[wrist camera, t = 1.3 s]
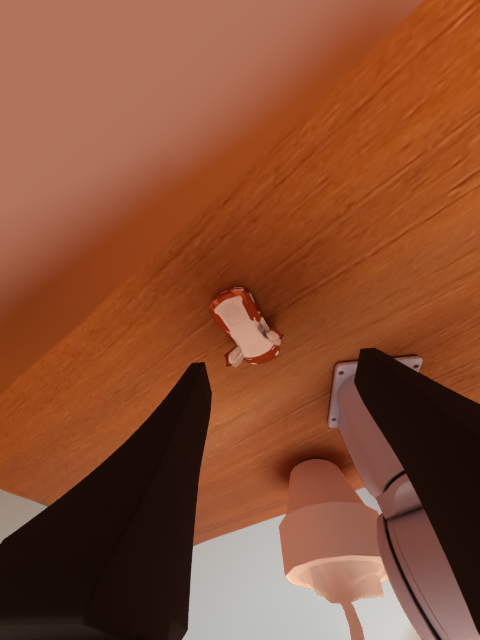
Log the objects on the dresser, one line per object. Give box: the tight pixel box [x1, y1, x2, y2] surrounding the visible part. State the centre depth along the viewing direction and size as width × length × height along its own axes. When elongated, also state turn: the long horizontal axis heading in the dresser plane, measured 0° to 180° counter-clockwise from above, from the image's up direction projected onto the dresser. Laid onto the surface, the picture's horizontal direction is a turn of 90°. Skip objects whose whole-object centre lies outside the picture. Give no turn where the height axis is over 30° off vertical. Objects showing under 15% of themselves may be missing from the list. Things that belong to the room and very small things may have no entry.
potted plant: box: [279, 459, 389, 640], centre depth 19 cm, size 13×12×25 cm
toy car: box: [209, 287, 283, 368], centre depth 17 cm, size 5×8×3 cm, turn 28°
